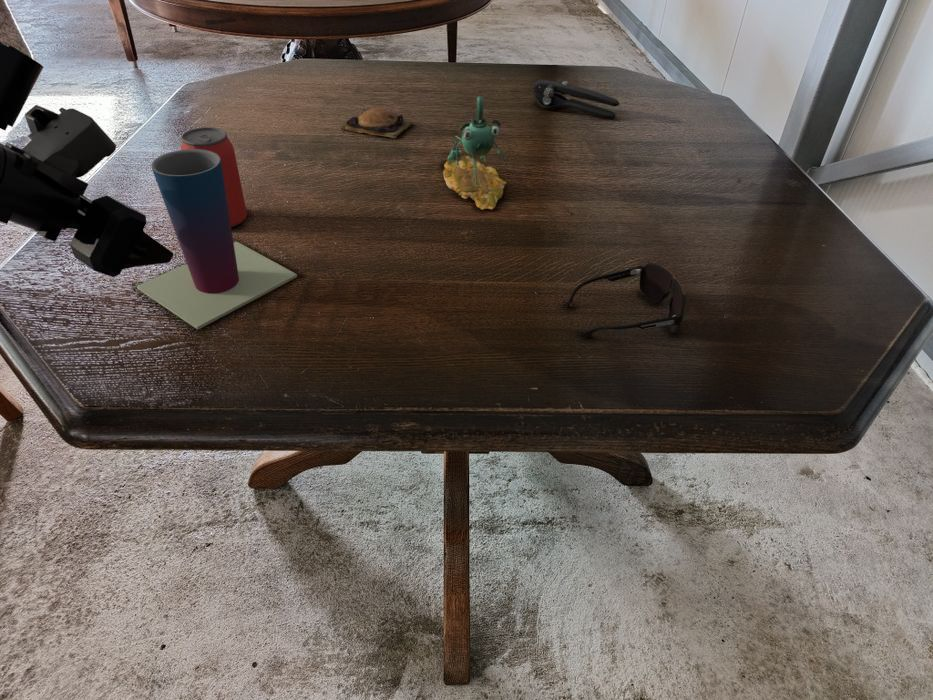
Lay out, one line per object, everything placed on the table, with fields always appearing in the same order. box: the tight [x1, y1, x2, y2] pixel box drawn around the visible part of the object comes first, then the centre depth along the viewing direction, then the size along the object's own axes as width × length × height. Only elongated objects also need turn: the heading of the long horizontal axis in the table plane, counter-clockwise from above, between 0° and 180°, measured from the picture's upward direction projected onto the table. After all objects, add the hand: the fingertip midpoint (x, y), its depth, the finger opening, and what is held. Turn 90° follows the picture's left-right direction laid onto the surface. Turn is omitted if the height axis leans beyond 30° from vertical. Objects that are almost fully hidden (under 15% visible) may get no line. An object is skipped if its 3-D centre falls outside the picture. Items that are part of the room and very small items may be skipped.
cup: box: [150, 149, 239, 293], centre depth 70 cm, size 7×7×15 cm
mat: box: [136, 240, 298, 331], centre depth 75 cm, size 14×12×1 cm
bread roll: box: [344, 106, 412, 139], centre depth 115 cm, size 11×8×4 cm
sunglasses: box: [567, 262, 686, 339], centre depth 72 cm, size 10×12×5 cm
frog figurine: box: [442, 95, 507, 211], centre depth 95 cm, size 10×18×15 cm, turn 13°
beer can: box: [180, 126, 248, 228], centre depth 83 cm, size 7×7×12 cm
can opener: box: [533, 79, 620, 120], centre depth 125 cm, size 18×7×6 cm, turn 67°
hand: (145, 242), depth 66 cm, fingers open, 9 cm apart
